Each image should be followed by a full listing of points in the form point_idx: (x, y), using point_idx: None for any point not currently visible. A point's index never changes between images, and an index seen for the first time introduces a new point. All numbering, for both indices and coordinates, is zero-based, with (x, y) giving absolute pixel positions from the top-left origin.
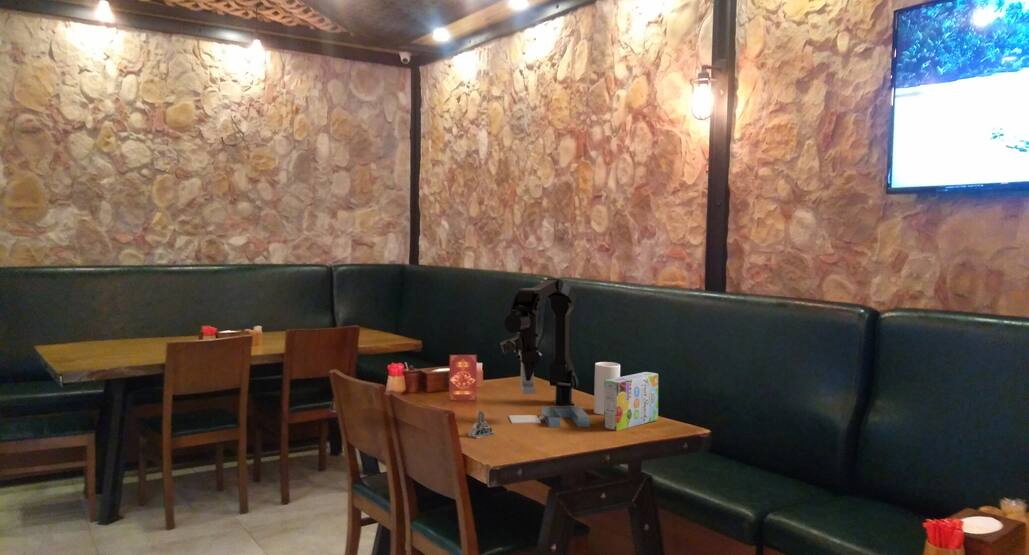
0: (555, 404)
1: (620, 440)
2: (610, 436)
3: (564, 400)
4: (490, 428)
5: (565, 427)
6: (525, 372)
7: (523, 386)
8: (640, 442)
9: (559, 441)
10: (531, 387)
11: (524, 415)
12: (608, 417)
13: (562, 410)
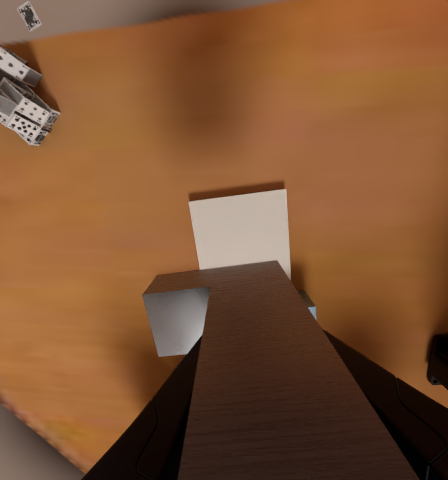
0: (441, 336)
1: (80, 436)
2: (108, 423)
3: (441, 370)
4: (18, 126)
5: None
6: (163, 384)
7: (157, 293)
8: (75, 464)
9: (33, 323)
10: (154, 336)
11: (285, 242)
12: None
13: None
